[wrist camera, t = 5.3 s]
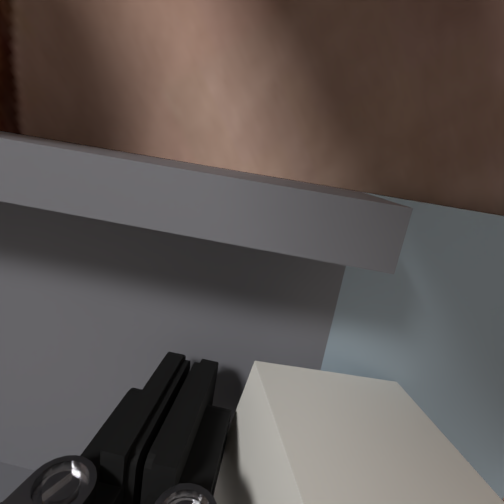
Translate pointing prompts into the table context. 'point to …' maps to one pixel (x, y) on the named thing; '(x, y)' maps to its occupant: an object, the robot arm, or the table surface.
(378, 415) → the cream block
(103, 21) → the table surface
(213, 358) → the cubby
